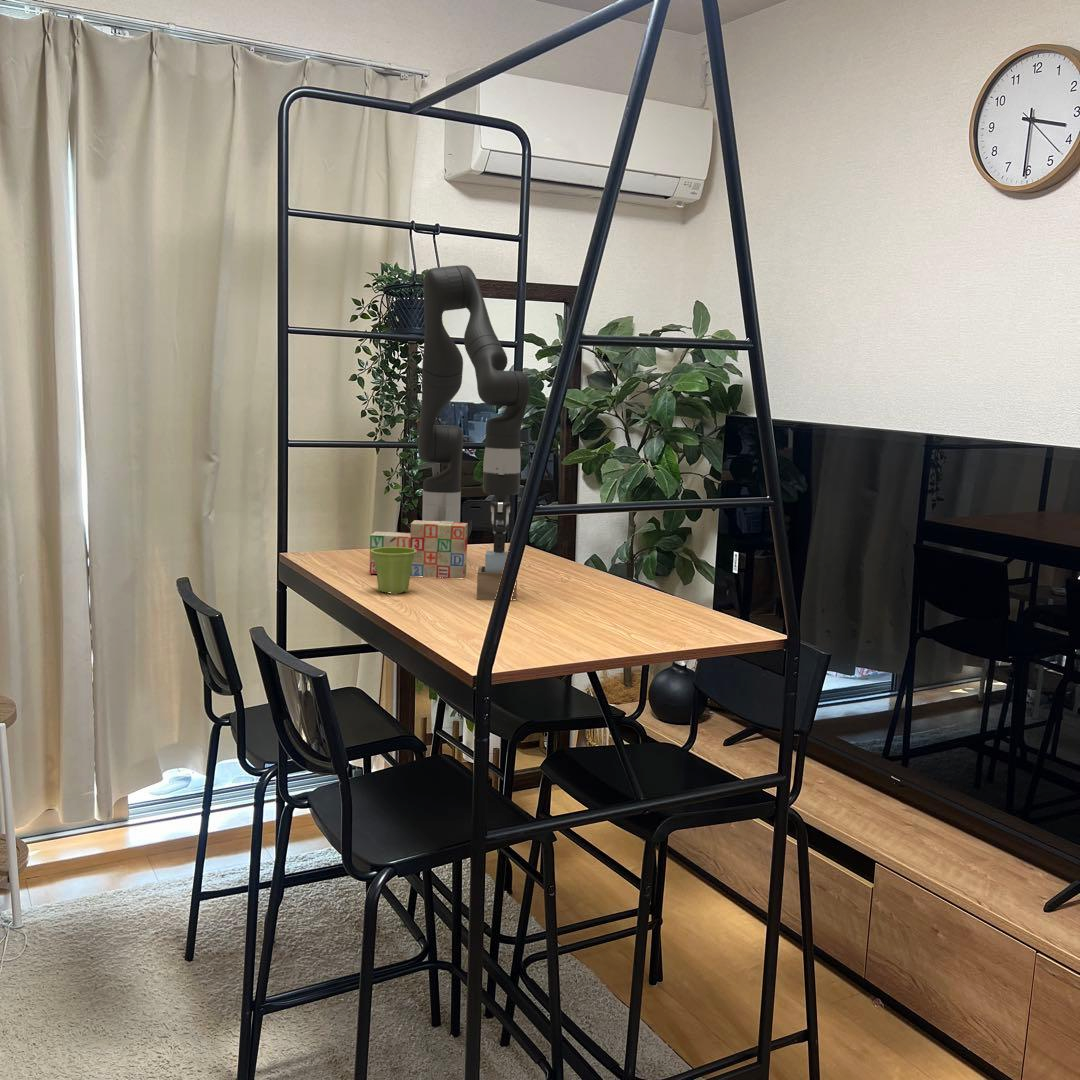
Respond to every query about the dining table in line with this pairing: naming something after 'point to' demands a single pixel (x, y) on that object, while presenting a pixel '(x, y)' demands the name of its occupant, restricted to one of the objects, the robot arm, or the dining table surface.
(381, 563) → the plant pot
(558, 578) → the dining table surface
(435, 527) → the stack of blocks
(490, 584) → the walnut base
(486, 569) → the bluegrey cube
